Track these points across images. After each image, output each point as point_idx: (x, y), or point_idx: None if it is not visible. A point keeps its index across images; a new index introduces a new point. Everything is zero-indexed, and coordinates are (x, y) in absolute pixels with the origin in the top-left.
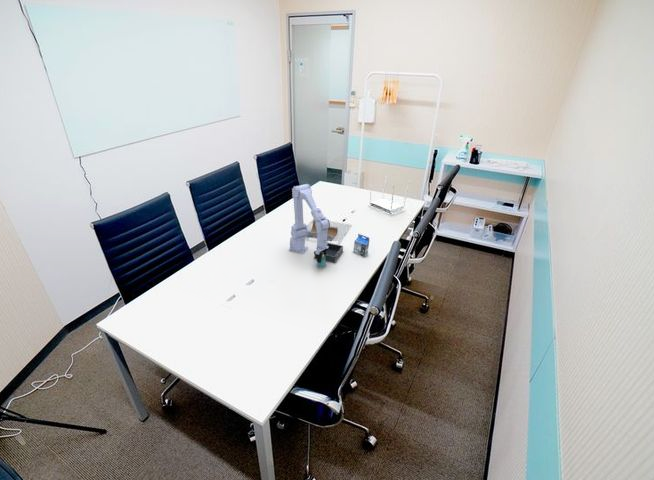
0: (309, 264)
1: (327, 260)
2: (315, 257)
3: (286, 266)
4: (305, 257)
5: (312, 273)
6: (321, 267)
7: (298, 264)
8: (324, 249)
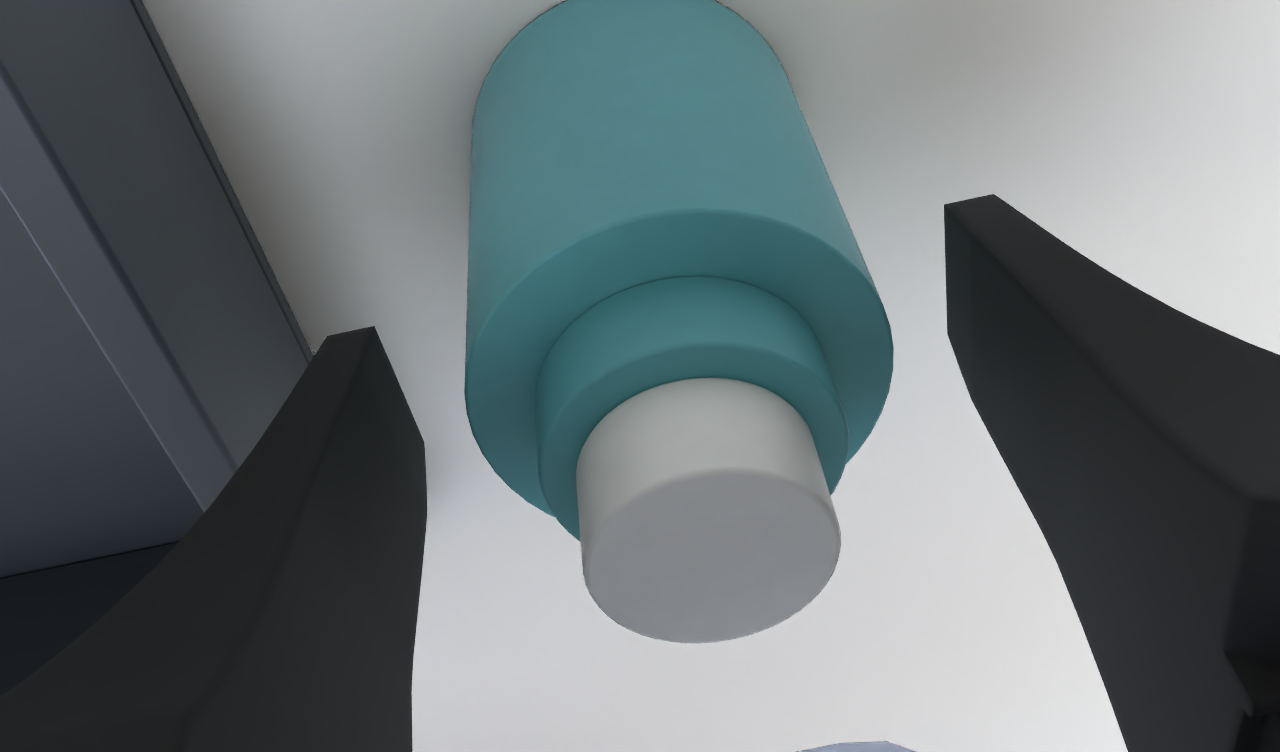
0: None
1: (193, 150)
2: None
3: None
4: (508, 675)
5: (1255, 102)
6: (777, 59)
7: (922, 613)
8: (332, 692)
